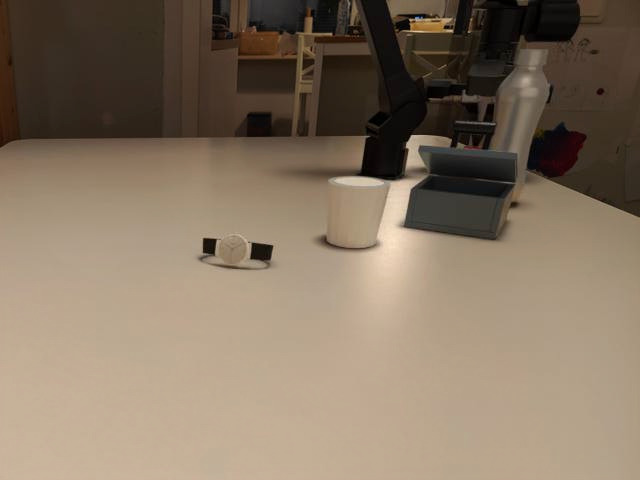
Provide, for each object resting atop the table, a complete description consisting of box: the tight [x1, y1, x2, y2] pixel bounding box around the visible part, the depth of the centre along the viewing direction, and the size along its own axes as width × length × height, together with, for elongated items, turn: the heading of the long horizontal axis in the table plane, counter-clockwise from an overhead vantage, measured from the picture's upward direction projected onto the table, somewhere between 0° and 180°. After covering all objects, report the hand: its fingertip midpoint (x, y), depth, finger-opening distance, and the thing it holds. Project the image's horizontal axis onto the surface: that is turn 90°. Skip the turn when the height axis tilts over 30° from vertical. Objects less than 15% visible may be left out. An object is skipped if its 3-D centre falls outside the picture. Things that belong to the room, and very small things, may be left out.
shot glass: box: [326, 175, 391, 249], centre depth 71 cm, size 7×7×7 cm
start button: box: [463, 144, 483, 150], centre depth 105 cm, size 4×4×2 cm
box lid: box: [417, 119, 518, 183], centre depth 76 cm, size 11×11×4 cm
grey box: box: [403, 174, 516, 240], centre depth 79 cm, size 10×11×5 cm
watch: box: [202, 230, 274, 266], centre depth 66 cm, size 8×5×4 cm, turn 68°
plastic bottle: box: [476, 48, 549, 203], centre depth 85 cm, size 6×7×20 cm
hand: (475, 146), depth 104 cm, fingers closed
